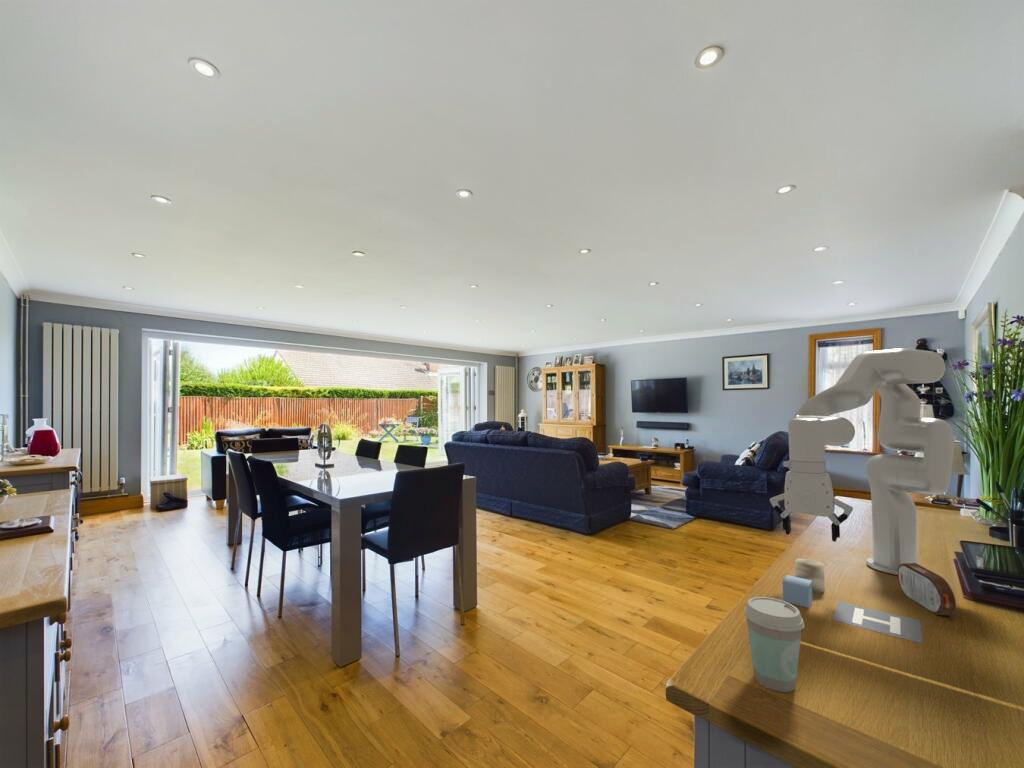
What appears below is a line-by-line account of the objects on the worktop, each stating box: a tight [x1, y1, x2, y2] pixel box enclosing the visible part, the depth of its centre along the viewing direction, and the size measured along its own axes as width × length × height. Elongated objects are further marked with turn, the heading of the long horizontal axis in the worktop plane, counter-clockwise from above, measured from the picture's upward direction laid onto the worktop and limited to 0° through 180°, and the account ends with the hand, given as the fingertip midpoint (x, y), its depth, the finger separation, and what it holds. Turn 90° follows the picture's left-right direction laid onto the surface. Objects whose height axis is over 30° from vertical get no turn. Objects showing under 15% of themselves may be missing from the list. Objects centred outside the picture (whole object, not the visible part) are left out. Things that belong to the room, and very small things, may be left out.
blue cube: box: [782, 574, 813, 609], centre depth 103 cm, size 5×5×5 cm
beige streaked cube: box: [794, 558, 826, 594], centre depth 110 cm, size 6×6×6 cm
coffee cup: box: [743, 596, 805, 693], centre depth 73 cm, size 8×9×12 cm
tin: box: [897, 563, 957, 617], centre depth 101 cm, size 15×3×8 cm, turn 168°
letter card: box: [832, 600, 924, 644], centre depth 93 cm, size 12×14×1 cm
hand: (810, 536), depth 111 cm, fingers open, 9 cm apart
